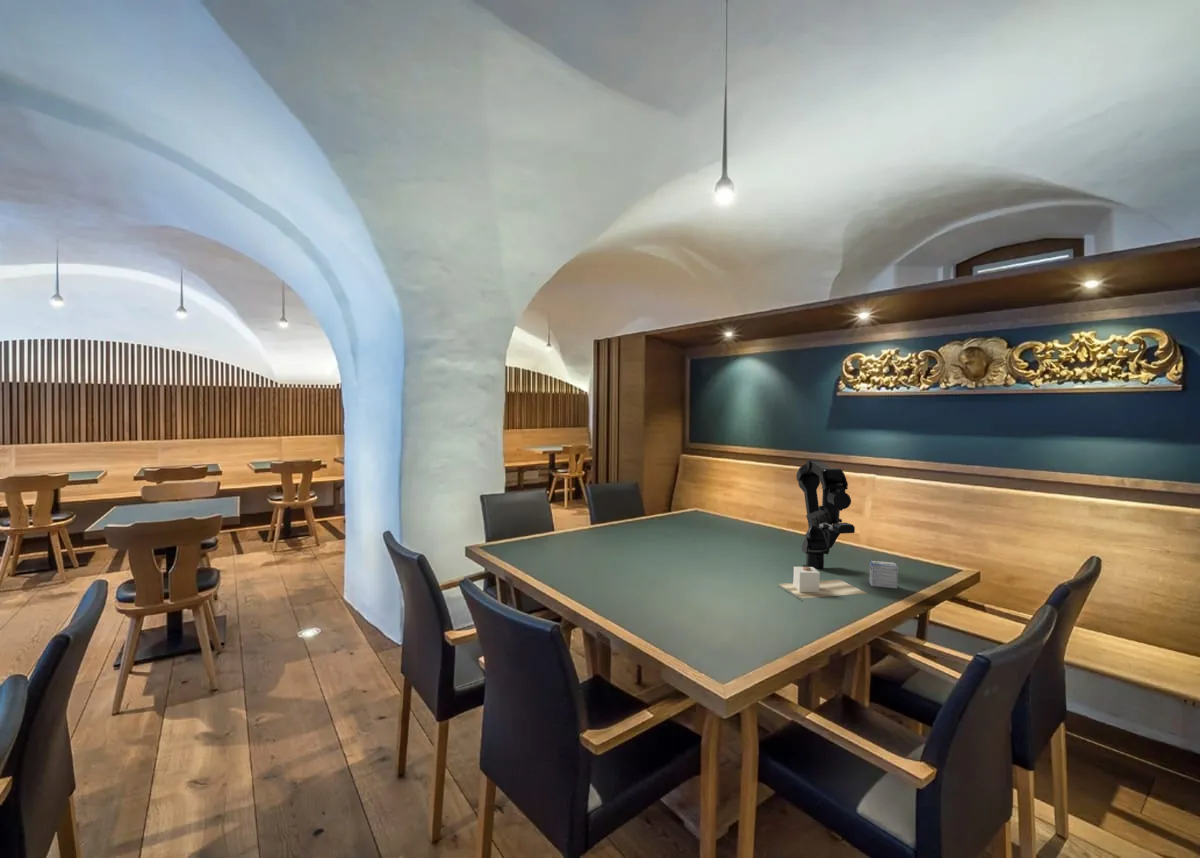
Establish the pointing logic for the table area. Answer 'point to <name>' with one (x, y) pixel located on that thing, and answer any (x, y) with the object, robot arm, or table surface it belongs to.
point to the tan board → (825, 589)
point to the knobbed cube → (806, 579)
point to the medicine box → (883, 574)
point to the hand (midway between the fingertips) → (829, 547)
